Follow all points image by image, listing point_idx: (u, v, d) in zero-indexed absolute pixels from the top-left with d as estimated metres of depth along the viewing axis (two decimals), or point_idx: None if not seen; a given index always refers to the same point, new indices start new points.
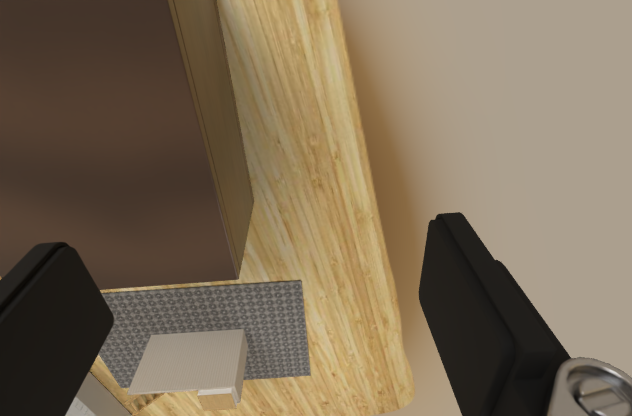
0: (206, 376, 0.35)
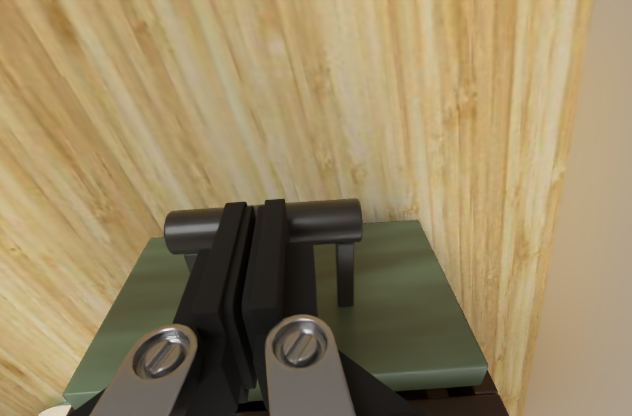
0: None
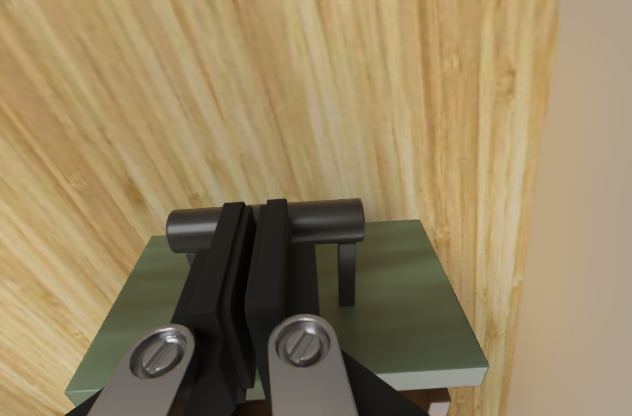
0: None
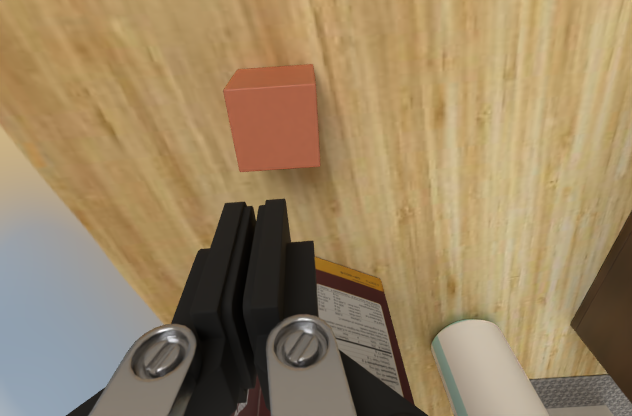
0: None
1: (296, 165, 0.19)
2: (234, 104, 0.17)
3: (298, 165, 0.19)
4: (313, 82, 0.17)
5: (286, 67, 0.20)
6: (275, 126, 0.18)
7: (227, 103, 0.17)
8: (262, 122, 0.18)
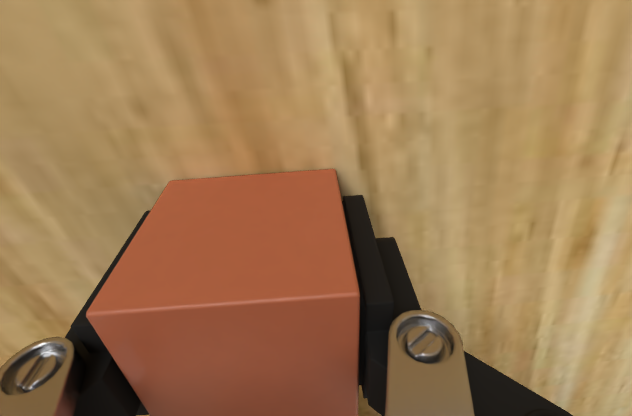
0: None
1: None
2: (125, 341, 0.06)
3: None
4: (351, 284, 0.06)
5: (277, 180, 0.09)
6: (246, 374, 0.07)
7: (104, 340, 0.06)
8: (211, 368, 0.07)
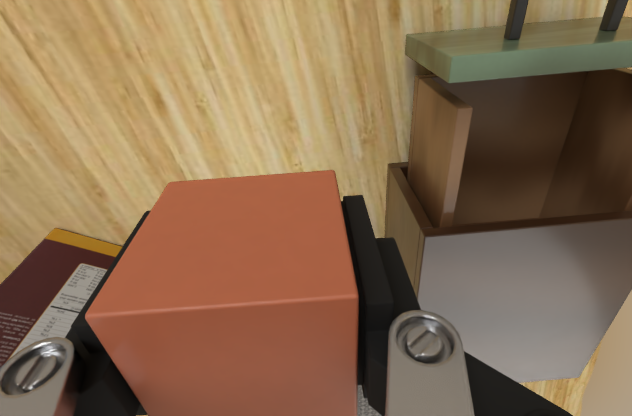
0: None
1: None
2: (124, 343, 0.06)
3: None
4: (350, 286, 0.06)
5: (276, 182, 0.09)
6: (245, 375, 0.07)
7: (103, 342, 0.06)
8: (210, 370, 0.07)
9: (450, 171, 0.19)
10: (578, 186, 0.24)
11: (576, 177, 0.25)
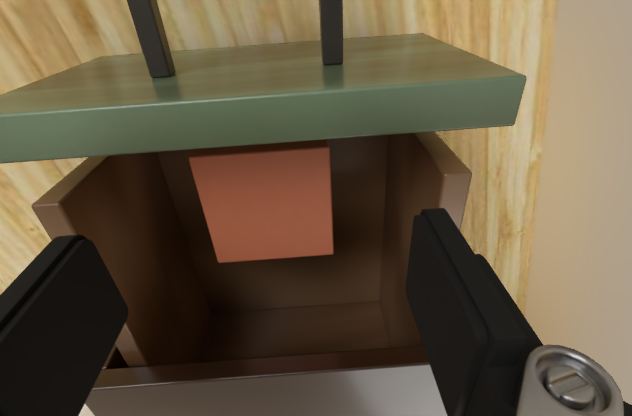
0: None
1: (300, 253, 0.13)
2: (205, 177, 0.11)
3: (302, 254, 0.13)
4: (325, 144, 0.11)
5: None
6: (269, 204, 0.12)
7: (195, 175, 0.11)
8: (249, 200, 0.12)
9: None
10: (393, 279, 0.17)
11: (391, 265, 0.17)
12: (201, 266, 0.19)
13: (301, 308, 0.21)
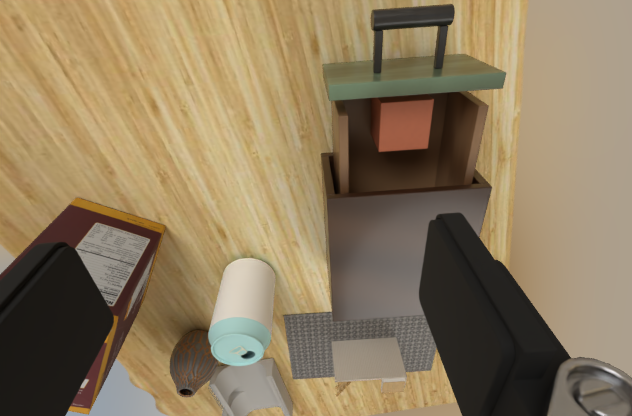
0: (384, 370, 0.52)
1: (413, 147, 0.31)
2: (385, 111, 0.29)
3: (415, 147, 0.31)
4: (432, 98, 0.29)
5: None
6: (406, 123, 0.30)
7: (381, 110, 0.29)
8: (399, 121, 0.30)
9: (340, 156, 0.29)
10: (447, 170, 0.35)
11: (446, 164, 0.35)
12: None
13: None
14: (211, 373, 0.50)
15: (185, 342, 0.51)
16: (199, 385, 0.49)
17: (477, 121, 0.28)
